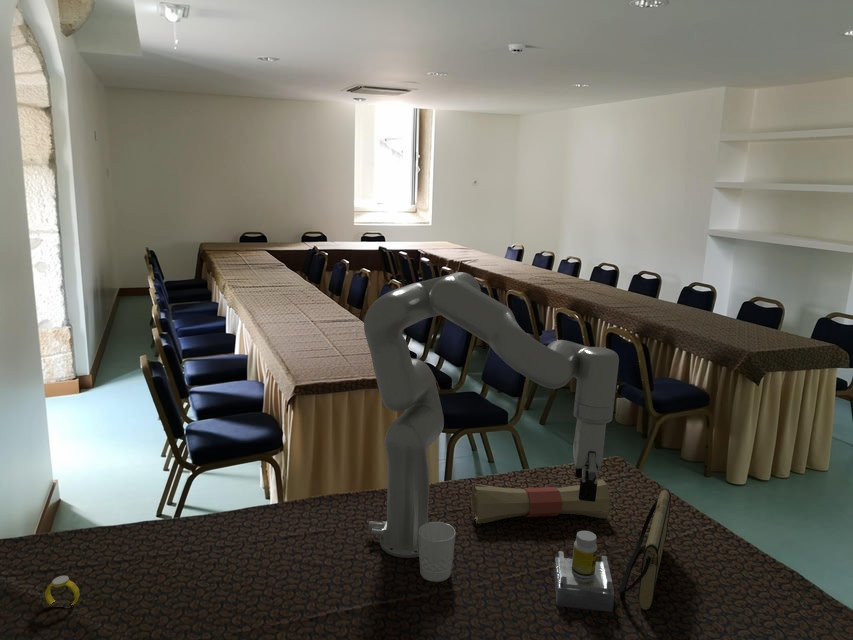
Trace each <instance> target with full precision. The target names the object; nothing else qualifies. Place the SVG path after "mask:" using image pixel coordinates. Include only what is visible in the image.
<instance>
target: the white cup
mask: <svg viewBox="0 0 853 640" xmlns="http://www.w3.org/2000/svg"><path fill="white" fill-rule="evenodd" d="M456 533H457V532H456V530H455V528H454V526H452V525H451V524H449V523H446V522H442V521H428V523H425V524H423V525H422V526H421V527H420V528H419V560H418V561H419V571H420V572H419V573H420V576H421V577H422V578H423V579H424V580H425V581H429V582H434V583H437V582H438V583H440V582H444V581H446V580H449V578H450V576H451V575H452V567H453V562H454V552H455V542H456Z"/></svg>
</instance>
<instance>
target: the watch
mask: <svg viewBox="0 0 853 640" xmlns="http://www.w3.org/2000/svg"><path fill="white" fill-rule="evenodd" d="M64 586H65V587H67V588H69V589H70V591H72V592H73V595H74V596H73V597H74V599H73V601H72V602H73V603H72V602H71V603H72V604H71V605H74V604H76V603H77V602H78V601H79V598H80V597H81V594H80V589H79V587H78V585H77V584H76V583H75V582H74V581H71V580H70V578H69V576H68V575H60V576H57V577H55V578H54V579H53V580H52V582H51V583H50V584H49V585H48V586H47V588H46V589H45V591H44V594H45V595H44V597H45V600H46V603H47V604H48V605H49V606H51V605H50V604H52V603H53V602H55V601H56V600H55V599H54V597H53V596H52V592H51V588H52V587H54V588H62V587H64ZM74 606H75V605H74Z"/></svg>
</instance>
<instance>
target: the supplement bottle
mask: <svg viewBox="0 0 853 640" xmlns="http://www.w3.org/2000/svg"><path fill="white" fill-rule="evenodd" d="M597 553H598V546H597V535H596V534H595V533H594V532H592V531H590V530H580V531H577V532H576V539H575V541H574V543H573V551H572V558H573V559H572V558H571V559H572V572H573V573H574V574H575V575H576V576H578V577H581V578H591V577H593V576H594V574H595V565H596V561H597Z"/></svg>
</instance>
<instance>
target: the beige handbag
mask: <svg viewBox="0 0 853 640" xmlns="http://www.w3.org/2000/svg"><path fill="white" fill-rule="evenodd" d="M671 502H672V495H671V492H670V491H669V489H667V488H663V489H661V490H660V493H659V495H658V498H657V499H656V501H655V502H654V503H653V504H652V506H651V507H650V510H649V512H648V515H647V516H646V519H645V522H644V524H643V527H642V529H641V532H640V535H639V538H638V541H637V544H636V547H635V549H634V552H633V554H632V556H631V557H630V559H629V561H628V562H627V566H626V568H625V572H624V576H623V578H622V581H621V584H620V587H619V590H618V593H619V594H624V593H626V592H628V591H630V590H632V589H633V588H635V587H636V586H637V584H639V585H638V586H639V588H638V604H639V607H640V608H641V609H642V610H644V611H647V610H649V609H650V608H651V606H653V605H652V604H653V601H654V597H655V589H656V583H657V580H658V574H659V569H660V564H661V560H662V555H663V550H664V546H665V543H666V541H667V536H668V529H669V528H668V527H669V520H670V514H671V513H670V512H671V505H672V503H671ZM651 520H652V521H651ZM650 521H651V526H650V528H649V529H650V530H649V532H648V537H647V539H646V543H645V544H646V545H645V547H644V551H643V556H642V560H641V569H640V575H638V577H637V578H636V580H635V581H633V582H632V583H631V584H630V585H629V586H628V587H627V588H626V585H627V581H628V578H629V576H630V572H631V569H632V567H633V564H634V562H635V560H636V559H637V556H638V554H639V552H640V549H641V547H642V544H643V541H644V538H645V535H646V532H647V529H648V526H649V524H650Z"/></svg>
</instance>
